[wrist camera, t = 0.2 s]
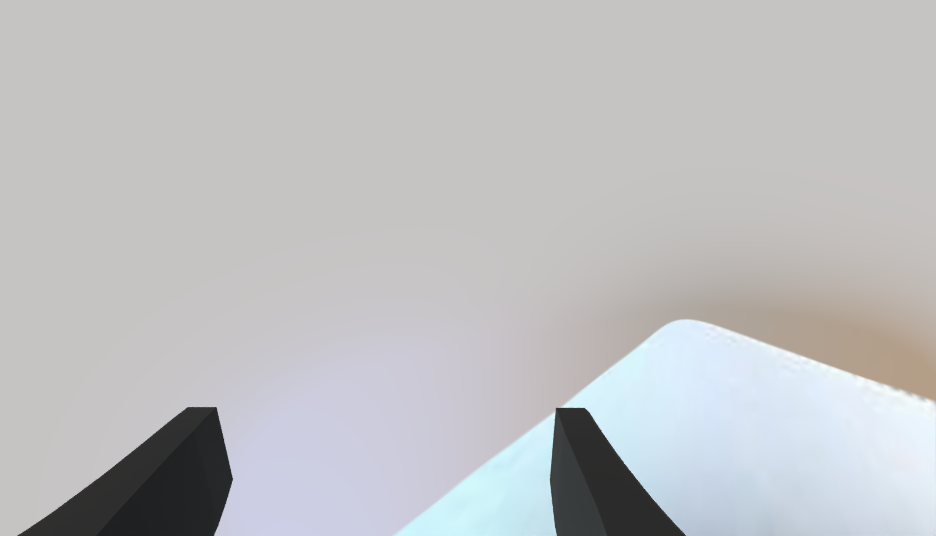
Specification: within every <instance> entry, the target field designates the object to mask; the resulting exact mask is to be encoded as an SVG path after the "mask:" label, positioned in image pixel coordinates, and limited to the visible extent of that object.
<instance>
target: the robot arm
mask: <svg viewBox="0 0 936 536" xmlns="http://www.w3.org/2000/svg"><path fill="white" fill-rule="evenodd" d="M232 481H233V478H232V474H231V469H230V465H229V460H228V456H227V451H226V447H225V443H224V438H223V434H222V429H221V425H220V421H219V416H218V412H217V408H216V407H188V408H186V409H185V410H184V411H182V412H181V413H180V414H178V415H177V416H176V417H174V418H173V419H172V420H171V421H169V422H168V423H167V424H166V425H165V426H163V427H162V428H161V429H160V430H158V431H157V432H156V433H155V434H153V435H152V436H151V437H150V438H149V439H147V440H146V441H145V442H144V443H143V444H141V445H140V446H139V447H138V448H136V449H135V450H134V451H132V452H131V453H130V454H129V455H128V456H126V457H125V458H124V459H122V460H121V461H120V462H119V463H118V464H116V465H115V466H114V467H112V468H111V469H110V470H109V471H107V472H106V473H105V474H104V475H102V476H101V477H100V478H99V479H97V480H96V481H94V482H93V483H92V484H90V485H89V486H88V487H86V488H85V489H84V490H82V491H81V492H79V493H78V494H77V495H75V496H74V497H73V498H71V499H70V500H69V501H67V502H66V503H64V504H63V505H62V506H61V507H59V508H58V509H57V510H55V511H54V512H52V513H51V514H50V515H48V516H46V517H45V518H44V519H42V520H41V521H39V522H38V523H36V524H35V525H33V526H32V527H30V528H29V529H27V530H26V531H24V532H23V533H21V534H19V535H18V536H214V534H215V531H216V529H217V527H218V525H219V522H220V518H221V516H222V512H223V510H224V507H225V504H226V501H227V497H228V494H229V491H230V487H231V484H232ZM550 485H551V494H552V504H553V513H554V521H555V528H556V533H557V536H686V535H685V534H684V533H683V532H682V531H681V530H680V529H679V528H678V527H677V526H676V525H675V523H674V522H673V521H672V520H671V519H670V518H669V517H668V516H667V515H666V514H665V512H664V511H663V510H662V509H661V508H660V507H659V506H658V504H657V503H656V502H655V501H654V500H653V499H652V498H651V496H650V495H649V494H648V493H647V491H646V490H645V489H644V488H643V487H642V485H641V484H640V483H639V482H638V480H637V479H636V478H635V476H634V475H633V474H632V473H631V471H630V470H629V469H628V468H627V466H626V465H625V464H624V462H623V461H622V460H621V458H620V457H619V456H618V454H617V453H616V451H615V450H614V449H613V447H612V446H611V444H610V443H609V442H608V440H607V439H606V437H605V436H604V434H603V433H602V431H601V430H600V428H599V427H598V425H597V424H596V422H595V421H594V419H593V417H592V416H591V414H590V413H589V412H588V411H587V410H586V409H585V408H556V414H555V426H554V438H553V450H552V462H551V474H550Z"/></svg>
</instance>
